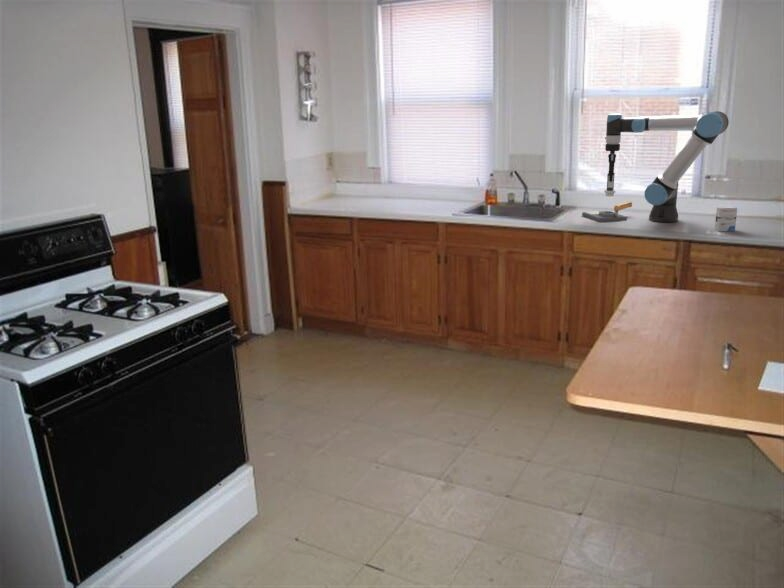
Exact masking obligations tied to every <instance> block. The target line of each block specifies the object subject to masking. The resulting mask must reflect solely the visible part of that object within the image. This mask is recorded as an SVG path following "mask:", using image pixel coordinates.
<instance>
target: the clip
mask: <svg viewBox="0 0 784 588" xmlns="http://www.w3.org/2000/svg"><path fill="white" fill-rule="evenodd" d="M632 207H633V201H627V202H625V203H624V202H623V203H621V204H616V205H614V207H613V212H615V211H618V212H619V211H622V210H624V209H628V208H632Z"/></svg>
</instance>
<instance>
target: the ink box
mask: <svg viewBox="0 0 784 588" xmlns="http://www.w3.org/2000/svg"><path fill="white" fill-rule="evenodd" d="M737 214H738V208H737V207H735V206H717V207H716V212H715V222H714V230H715V231H717V230H718V232H734V231H735V230H736V222H737Z"/></svg>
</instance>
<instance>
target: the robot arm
mask: <svg viewBox="0 0 784 588" xmlns="http://www.w3.org/2000/svg"><path fill="white" fill-rule="evenodd" d="M729 123H730V121H729V117H728V116H727V115H726V114H725V112H722V111H720V110H719V111H708V112H705V113H704V112H703V113H701V114H700V115H699V114H698V115H661V116H660V115H659V116H657V115H655V116H654V115H653V116H645V115H642V116H641V115H640V116H636V117H623V114H621V113H609V114H608V115H607V118H606V132H605V135H606V136H605V137H604V139H605V147H604V148H605V151H606V152H609V153H608V156H607V157H608V171H607V176H608V188H613V178H614V179H615V163H616V158H617V154H616V152H619V151H620V150H621V144H620V143H621V138H622V133H635V134H637V133H643V132H649V131H652V132H661V131H662V132H664V131H665V132H666V131H667V132H673V131H675V132H676V131H677V132H678V131H682V132H683V131H686V132H689V131H691V136H690V138H689V139H688V140H687V141H686V142H685V144H684V145H683V146H682V148H681V150H680V151H679V152H678V153H677V155H676V156H675V157H674V159H672V161H671V162H670V164H669V165H668V166H667V167H666V169H665V170H664V172H663V173H662V174H657V176H656V177H655V179H654V180H653V181H652V183H650V184H649V185H647V186H646V188H645V190H644V198H645V200H646V202H647V203H648V204H650V205H651V206H652V208H651V211H650V213H649V215H648V220H649V221H652V222H657V223H676V222H678V221H679V213H678V209H677V200H678V192H679V190H678V189H679V181H680V180H681V178H682V177H683V176H684V175H685V173H686V172H687V171H688V169H689V168H690V167H691V165H692V164H693V163H694V162H695V160H696V159H697V158H698V157H699V156H700V154H701V153H702V152H703V150H704V149H705V148H706V147H707V146H710V145H712V144H713V143H714V141H715V140H716V139H717V138H718V137H719V135H722V134H723V133H724V132H726V131H727V129H728V127H729Z"/></svg>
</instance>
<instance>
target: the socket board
mask: <svg viewBox="0 0 784 588" xmlns="http://www.w3.org/2000/svg"><path fill="white" fill-rule="evenodd" d="M581 213H582V214H581V216H582V217H584V218H587V219H589V220H592V221H596V222H598V223H607V222H620V221H627V216H625V215H624V214H623V215H622V214H621V213H620V214H619V211H611V210H600V211H599V210H595V211H583V212H581Z"/></svg>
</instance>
